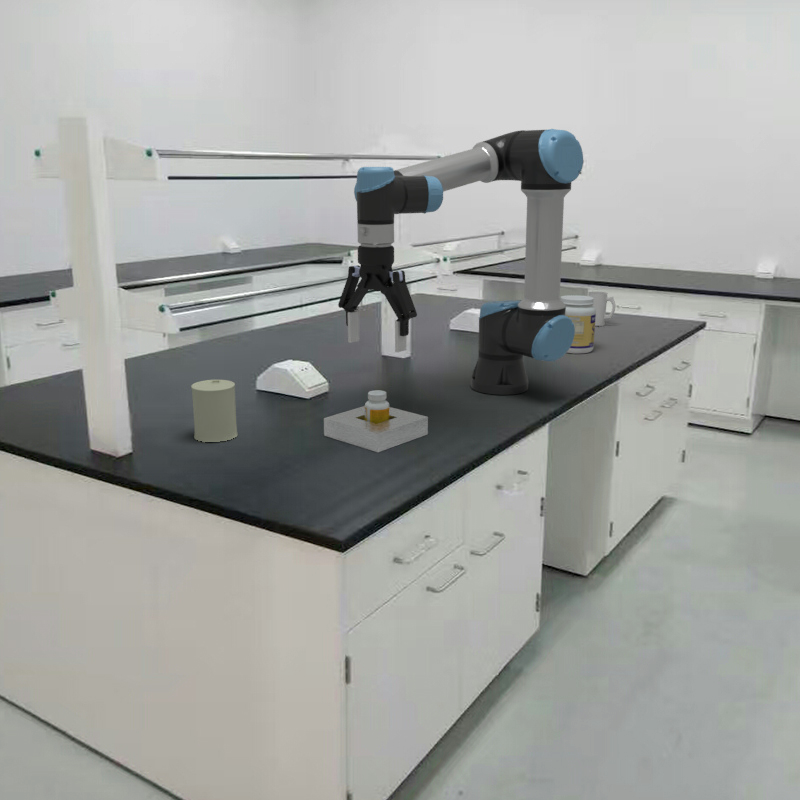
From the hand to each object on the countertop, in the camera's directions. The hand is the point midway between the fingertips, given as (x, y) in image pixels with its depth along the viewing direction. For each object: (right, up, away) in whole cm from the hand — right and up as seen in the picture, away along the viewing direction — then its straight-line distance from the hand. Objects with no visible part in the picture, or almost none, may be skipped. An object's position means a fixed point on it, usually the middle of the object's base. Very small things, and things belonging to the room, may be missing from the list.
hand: (376, 346), depth 177 cm
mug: (+78, +16, +129) cm, 151 cm away
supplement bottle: (0, -19, +6) cm, 20 cm away
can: (-35, -19, +4) cm, 40 cm away
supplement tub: (+60, +4, +89) cm, 107 cm away
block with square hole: (0, -19, +5) cm, 20 cm away
